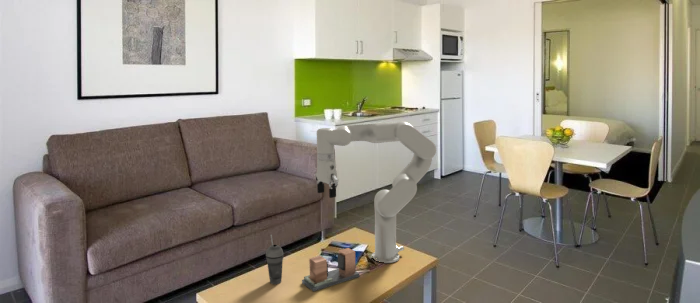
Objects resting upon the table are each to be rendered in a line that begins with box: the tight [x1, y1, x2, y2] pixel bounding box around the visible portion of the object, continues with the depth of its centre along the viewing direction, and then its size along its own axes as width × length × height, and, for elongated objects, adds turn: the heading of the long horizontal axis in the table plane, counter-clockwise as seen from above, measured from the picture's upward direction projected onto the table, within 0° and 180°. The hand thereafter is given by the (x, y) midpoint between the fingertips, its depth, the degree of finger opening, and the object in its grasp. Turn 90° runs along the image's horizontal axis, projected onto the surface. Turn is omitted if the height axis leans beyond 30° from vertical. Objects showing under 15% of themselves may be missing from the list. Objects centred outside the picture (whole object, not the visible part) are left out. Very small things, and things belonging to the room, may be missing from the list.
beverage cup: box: [265, 234, 285, 285], centre depth 184 cm, size 7×7×20 cm
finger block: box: [308, 255, 329, 283], centre depth 183 cm, size 5×6×9 cm
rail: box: [301, 247, 360, 292], centre depth 186 cm, size 22×9×10 cm, turn 125°
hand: (326, 194), depth 202 cm, fingers open, 9 cm apart
